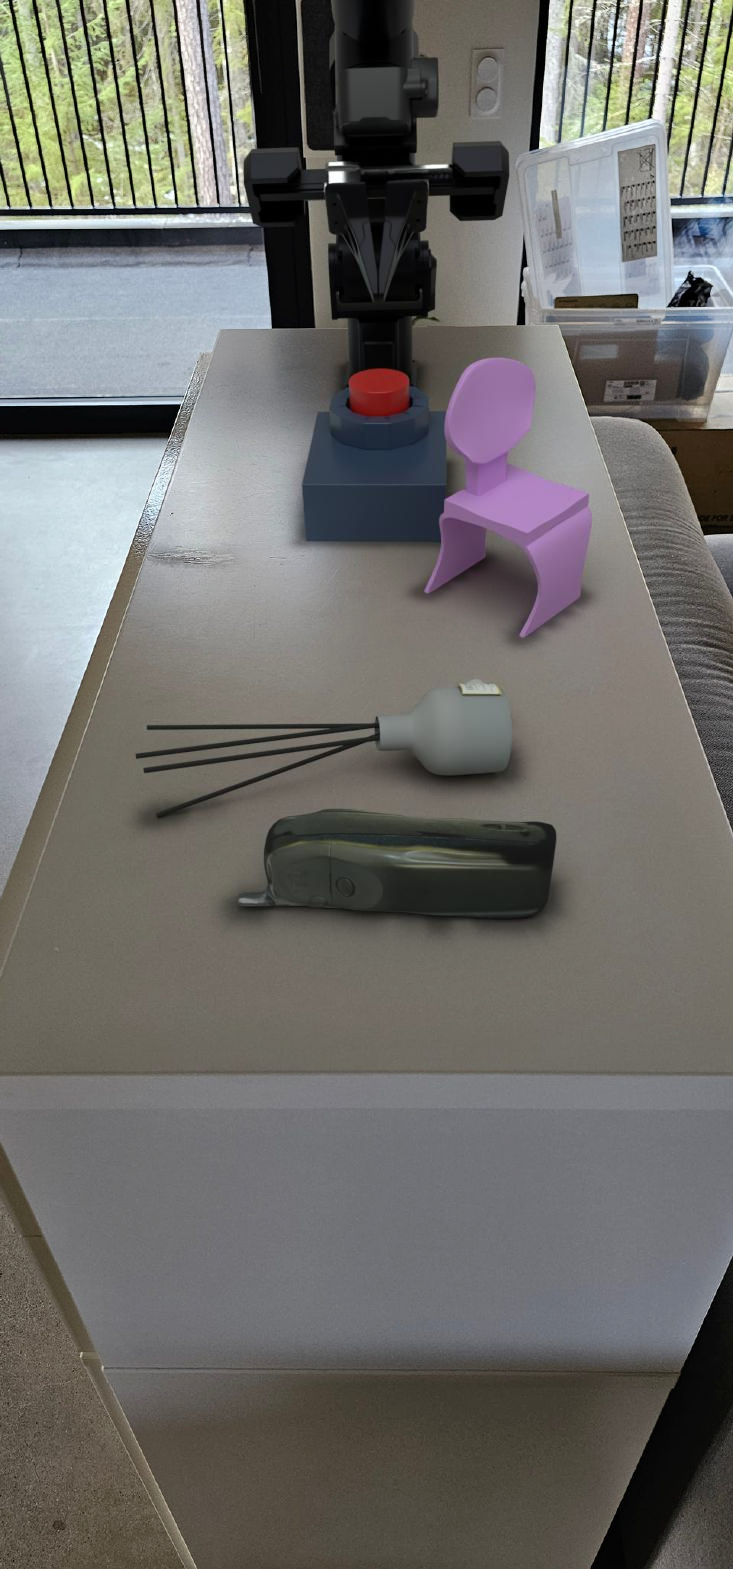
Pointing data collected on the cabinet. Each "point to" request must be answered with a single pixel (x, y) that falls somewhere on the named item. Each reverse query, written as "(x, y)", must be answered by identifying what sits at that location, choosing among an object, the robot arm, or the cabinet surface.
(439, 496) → the switch box
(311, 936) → the cabinet surface
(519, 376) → the toy chair
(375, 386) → the button
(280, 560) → the cabinet surface
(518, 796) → the cabinet surface
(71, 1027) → the cabinet surface
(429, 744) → the reed diffuser
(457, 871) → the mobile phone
